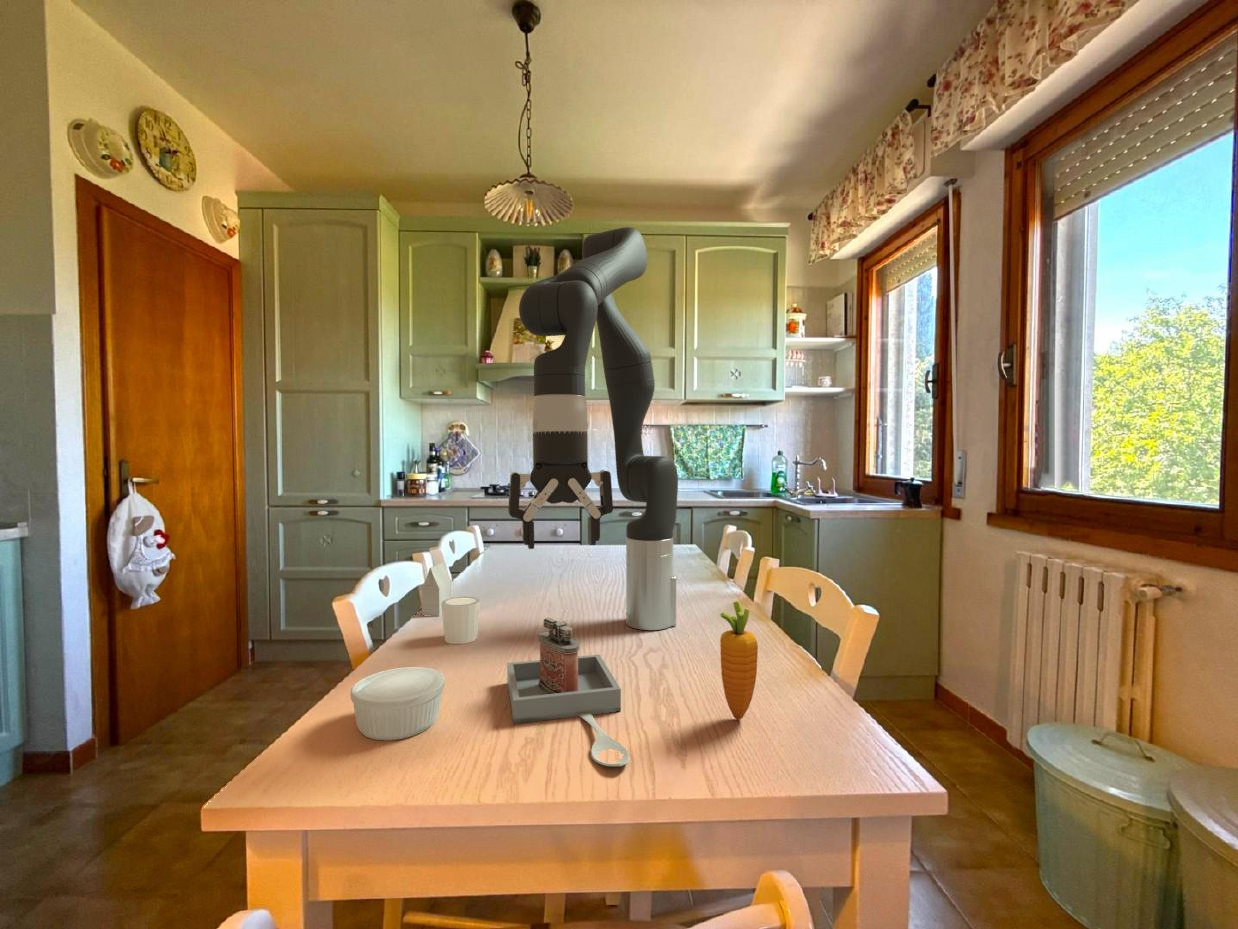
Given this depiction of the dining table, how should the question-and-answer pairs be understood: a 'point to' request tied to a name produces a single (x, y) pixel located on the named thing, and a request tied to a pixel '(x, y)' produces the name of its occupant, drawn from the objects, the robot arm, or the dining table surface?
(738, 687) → the carrot
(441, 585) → the white milk carton
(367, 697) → the ramekin
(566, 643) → the lighter
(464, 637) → the cream cup
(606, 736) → the spoon
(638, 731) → the dining table surface
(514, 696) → the tray
